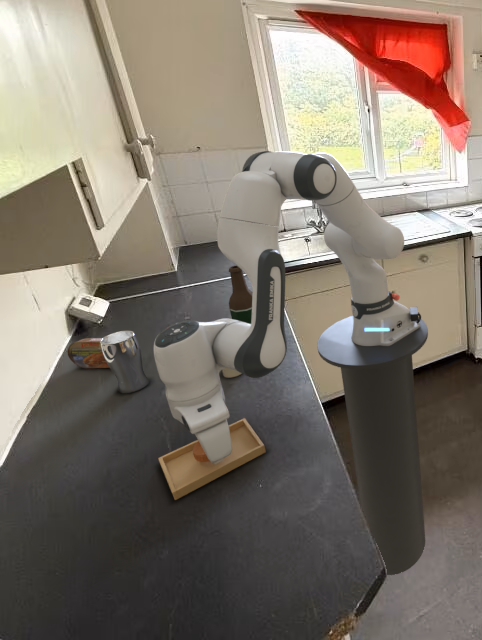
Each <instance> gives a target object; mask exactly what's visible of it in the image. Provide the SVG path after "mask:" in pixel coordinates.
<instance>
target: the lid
mask: <svg viewBox="0 0 482 640" xmlns="http://www.w3.org/2000/svg"><path fill="white" fill-rule="evenodd" d="M193 455H194V458H195V460H197V461H199V462H208V461H209V459H208V457H207V456H206V454H205V452H204V450H203V448H202V446H201V444H200V442H199V441H198V442H197V443H196V444H195V445H194V447H193Z"/></svg>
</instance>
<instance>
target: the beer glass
mask: <svg viewBox="0 0 482 640" xmlns="http://www.w3.org/2000/svg"><path fill="white" fill-rule="evenodd" d="M101 338H102V339H101V340H100V344H101V348H102V352H103V355H104V358H105V360H106V362H107V364H108V366H109V367H110V368H109V369H110V371H111V372H112V373H113V374H114V376H115V378H116V379H117V386H118V391H119V393H121V394H131V393H135V392H138V391H140V390H142V389H144V388H145V387H147V386H148V385H149V384H150V380H149V378H148V376H147V375H146V374H145V371H144V368H143V366H144V365H143V355H142V349H141V345H140V343H139V341H138V338H137V336H136V334H135V331H133V330H121V331H116V332H112V333H110V334H108V335H105V336H103V337H101Z"/></svg>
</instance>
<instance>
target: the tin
mask: <svg viewBox="0 0 482 640" xmlns="http://www.w3.org/2000/svg"><path fill="white" fill-rule="evenodd" d="M102 338H103V337H89V338H88V337H86V338H82V339H79V340H77V341H75V342H73V343H71V344H70V345H69V346H68V347H67V357H68V358H69V361H71V362H72V363H73V364H74V365H75V366H77V367H79V368H82V369H110V367H109V366H108V364H107V362H106V360H105V358H104V355H103V352H102V348H101V344H100V340H101V339H102Z"/></svg>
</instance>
